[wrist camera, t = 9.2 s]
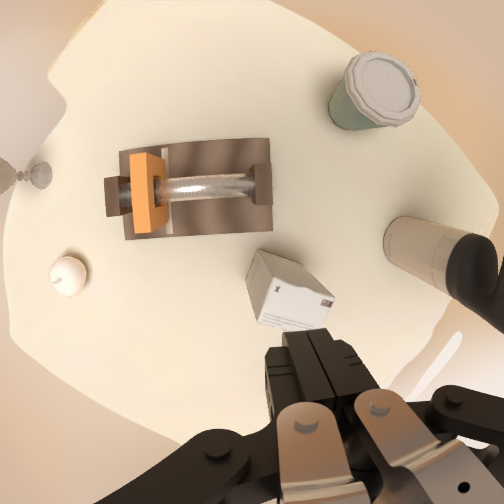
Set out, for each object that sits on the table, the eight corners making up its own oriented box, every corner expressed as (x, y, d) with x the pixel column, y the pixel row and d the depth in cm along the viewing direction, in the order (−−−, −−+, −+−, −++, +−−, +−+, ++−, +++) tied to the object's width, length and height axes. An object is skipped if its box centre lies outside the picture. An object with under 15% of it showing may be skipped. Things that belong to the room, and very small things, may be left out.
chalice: (61, 174, 39) (-8, 176, 21) (42, 202, 39) (-26, 215, 22) (43, 148, 37) (-24, 141, 19) (25, 176, 38) (-42, 180, 20)
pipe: (268, 172, 35) (271, 170, 32) (269, 196, 36) (272, 197, 33) (113, 184, 34) (103, 185, 31) (115, 208, 35) (105, 210, 32)
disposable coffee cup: (326, 146, 41) (369, 130, 26) (305, 85, 38) (337, 46, 24) (380, 135, 41) (434, 121, 26) (361, 78, 38) (406, 46, 24)
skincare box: (244, 280, 45) (250, 324, 31) (258, 246, 44) (270, 276, 29) (291, 296, 46) (315, 342, 32) (305, 263, 45) (337, 298, 31)
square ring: (164, 159, 36) (146, 152, 28) (168, 222, 39) (151, 232, 30) (151, 161, 36) (129, 154, 28) (155, 223, 38) (134, 233, 30)
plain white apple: (66, 244, 41) (42, 255, 34) (97, 262, 43) (75, 276, 35) (59, 278, 43) (36, 292, 35) (88, 295, 44) (67, 313, 36)
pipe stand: (267, 139, 40) (277, 126, 31) (271, 229, 43) (282, 241, 34) (122, 152, 39) (96, 145, 30) (128, 238, 42) (104, 252, 33)
